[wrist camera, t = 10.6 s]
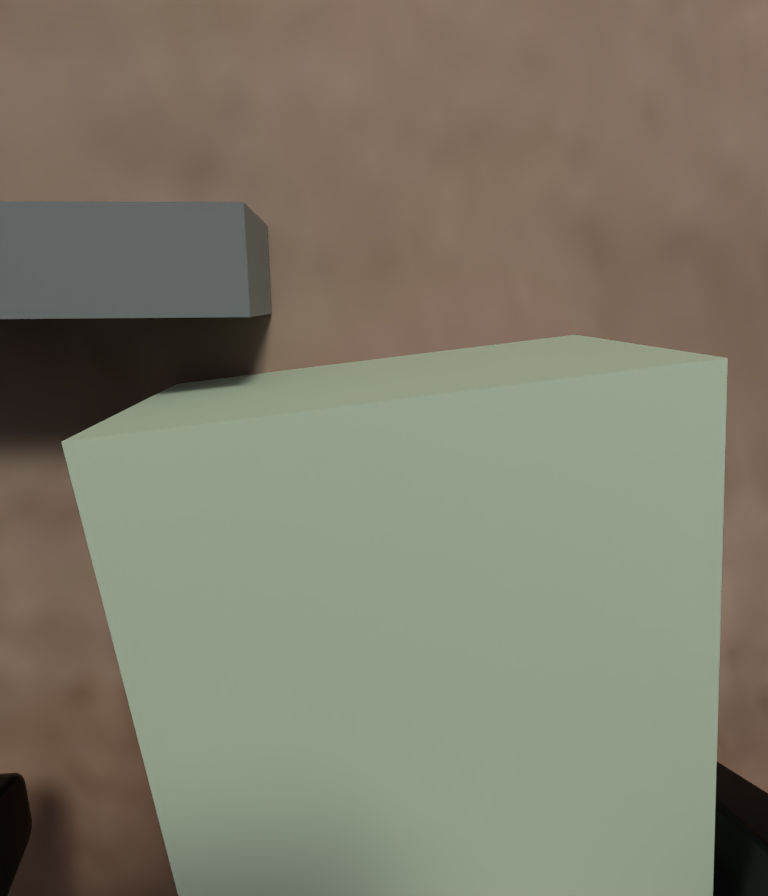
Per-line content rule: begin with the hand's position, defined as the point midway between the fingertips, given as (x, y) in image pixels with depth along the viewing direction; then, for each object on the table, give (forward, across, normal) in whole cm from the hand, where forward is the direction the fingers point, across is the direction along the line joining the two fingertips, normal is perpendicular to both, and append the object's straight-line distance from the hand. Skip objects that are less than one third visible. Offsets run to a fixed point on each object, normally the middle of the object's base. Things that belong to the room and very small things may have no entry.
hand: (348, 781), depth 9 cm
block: (+2, -1, 0) cm, 2 cm away
